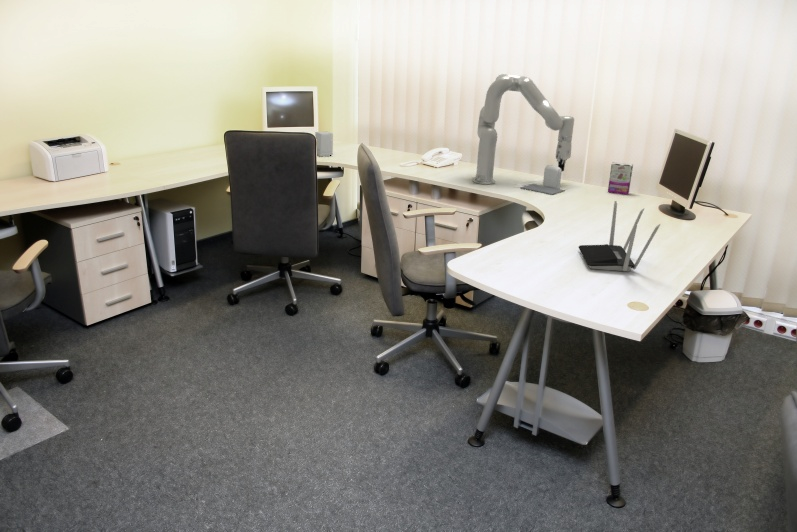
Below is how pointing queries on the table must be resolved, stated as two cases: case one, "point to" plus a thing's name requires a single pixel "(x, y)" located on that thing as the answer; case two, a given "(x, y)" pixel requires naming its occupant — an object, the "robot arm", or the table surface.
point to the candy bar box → (620, 178)
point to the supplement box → (324, 143)
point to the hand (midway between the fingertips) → (560, 170)
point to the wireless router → (614, 250)
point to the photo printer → (552, 176)
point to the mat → (542, 189)
